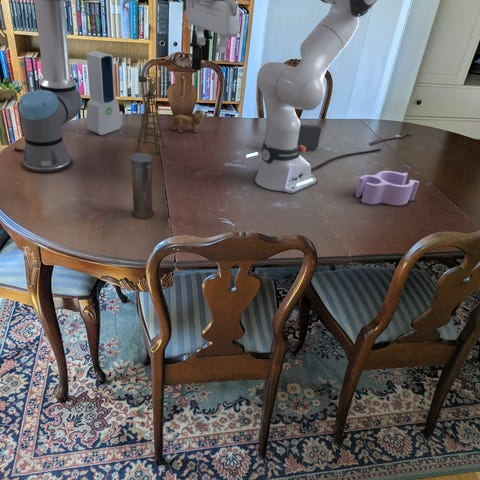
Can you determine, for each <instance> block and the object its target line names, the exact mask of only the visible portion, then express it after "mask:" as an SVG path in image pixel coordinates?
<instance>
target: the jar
mask: <svg viewBox="0 0 480 480" xmlns="http://www.w3.org/2000/svg"><path fill="white" fill-rule="evenodd" d="M131 179H132V205H133V206H132V207H133V208H132V209H133V216H134V218H135V217H136V218H138V219H148V218H150V217H152V215H153V164H152V165H150V166H147V167H137V166H134V165H132V164H131Z"/></svg>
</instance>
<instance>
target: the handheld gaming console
mask: <svg viewBox="0 0 480 480" xmlns="http://www.w3.org/2000/svg"><path fill="white" fill-rule="evenodd" d="M321 133H322V127H321V126H319V125H318V124H300V131H299V137H298V143H297V144H298V145H299V146H300V145H303V146H304V147H305V148H306V151H312V150H317V148H318V147H319V144H320V137H321Z"/></svg>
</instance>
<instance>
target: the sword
mask: <svg viewBox="0 0 480 480" xmlns="http://www.w3.org/2000/svg"><path fill="white" fill-rule="evenodd" d="M402 134H403V133H398V134H396V135H393V136H392V135H391V136H388V137H383V138H379V139H376V140H373V141H370V145H374V144H377V143H380V142H383V141H387V140H391V139H397V138H404V137H405V136H411V135H413V134H408V135H402Z"/></svg>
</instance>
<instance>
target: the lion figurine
mask: <svg viewBox="0 0 480 480" xmlns="http://www.w3.org/2000/svg"><path fill="white" fill-rule="evenodd" d="M204 116H205V112H204V110H202V109H199V108H198V109H196V110H195V111H194V112H193V113H191V114H190V115H183V114H178V115H175V117H174V118H173V119H172V124H171V127H170V128H169V131H172V130H176V129H177V130H178V132H179V133H183V130H182V129H181V127H182V124H184V125H186V126H190V129H191V131H193V133H197V132H198V131H197V130H196V129H197V125H200V124H201V123H202V122H203V120H204V118H205V117H204ZM176 126H177V128H176Z"/></svg>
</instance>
